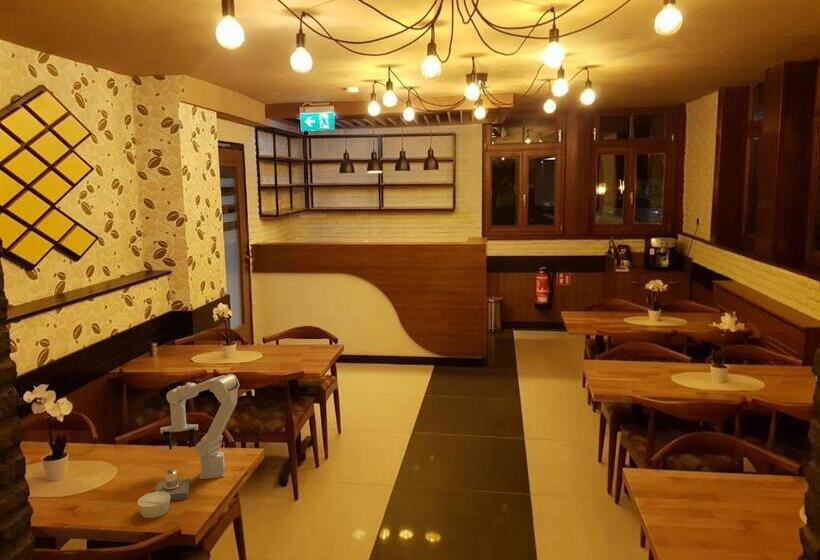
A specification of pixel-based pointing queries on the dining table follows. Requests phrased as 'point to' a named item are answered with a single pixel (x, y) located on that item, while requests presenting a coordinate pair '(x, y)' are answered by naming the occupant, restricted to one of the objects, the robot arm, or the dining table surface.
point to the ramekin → (154, 504)
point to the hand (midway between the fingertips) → (180, 447)
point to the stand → (178, 492)
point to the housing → (171, 479)
